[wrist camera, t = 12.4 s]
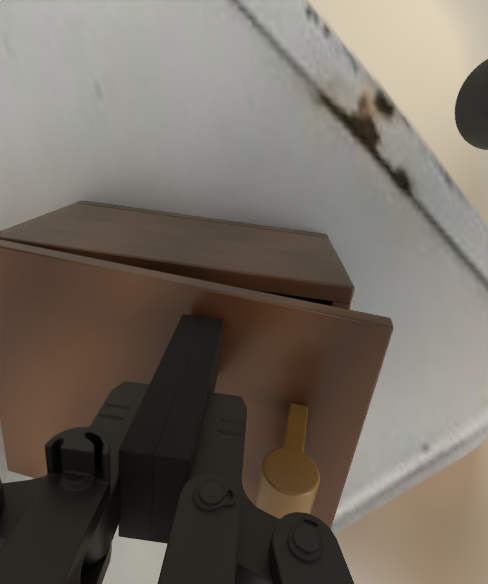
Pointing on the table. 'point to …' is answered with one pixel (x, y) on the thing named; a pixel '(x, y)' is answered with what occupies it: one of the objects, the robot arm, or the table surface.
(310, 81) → the table surface
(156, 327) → the lid
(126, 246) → the chest
